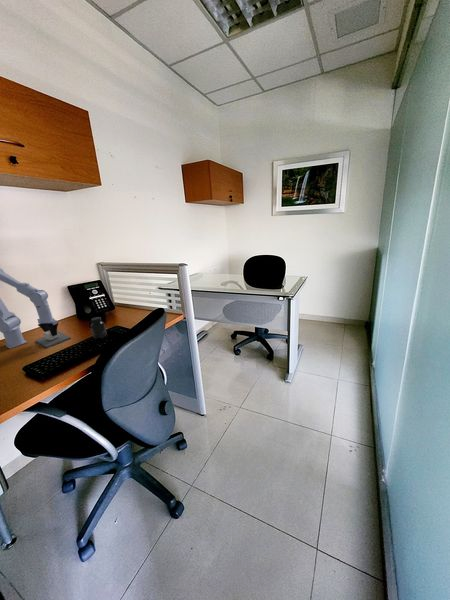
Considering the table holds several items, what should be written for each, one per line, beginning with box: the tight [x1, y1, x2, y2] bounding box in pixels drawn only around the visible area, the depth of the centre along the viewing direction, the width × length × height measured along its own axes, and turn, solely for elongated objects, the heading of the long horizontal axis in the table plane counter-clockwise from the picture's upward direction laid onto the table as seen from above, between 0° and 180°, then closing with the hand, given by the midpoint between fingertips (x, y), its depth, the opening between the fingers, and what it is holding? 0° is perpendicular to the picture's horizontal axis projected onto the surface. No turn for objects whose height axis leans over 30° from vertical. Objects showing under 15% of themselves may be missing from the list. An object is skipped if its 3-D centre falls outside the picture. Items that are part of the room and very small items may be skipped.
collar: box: [43, 329, 60, 340], centre depth 135 cm, size 5×5×4 cm
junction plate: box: [35, 331, 71, 349], centre depth 135 cm, size 16×12×5 cm
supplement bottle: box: [90, 316, 108, 339], centre depth 132 cm, size 7×7×12 cm
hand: (51, 334), depth 135 cm, fingers open, 5 cm apart
